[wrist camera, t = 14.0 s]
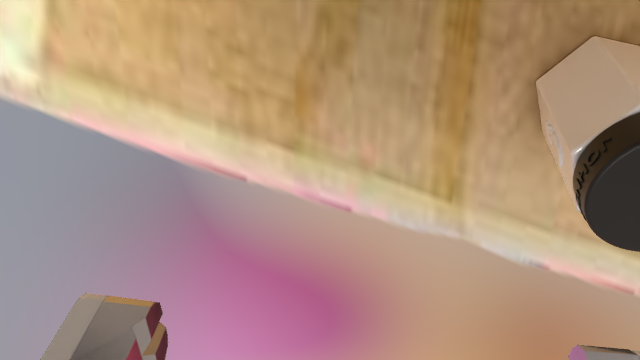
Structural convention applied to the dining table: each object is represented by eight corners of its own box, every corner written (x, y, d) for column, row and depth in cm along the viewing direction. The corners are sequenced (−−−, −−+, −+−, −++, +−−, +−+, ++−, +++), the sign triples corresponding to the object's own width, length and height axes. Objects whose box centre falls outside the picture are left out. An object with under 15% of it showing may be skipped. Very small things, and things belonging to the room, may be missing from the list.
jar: (527, 52, 36) (577, 146, 27) (660, 16, 34) (766, 105, 24) (542, 157, 41) (588, 269, 32) (660, 132, 39) (748, 244, 29)
